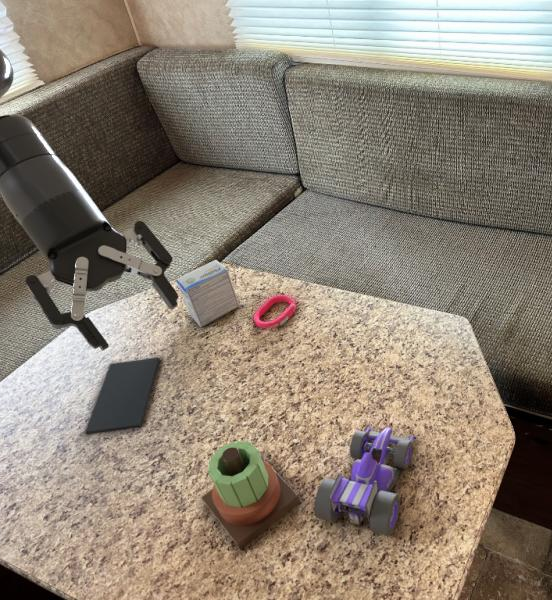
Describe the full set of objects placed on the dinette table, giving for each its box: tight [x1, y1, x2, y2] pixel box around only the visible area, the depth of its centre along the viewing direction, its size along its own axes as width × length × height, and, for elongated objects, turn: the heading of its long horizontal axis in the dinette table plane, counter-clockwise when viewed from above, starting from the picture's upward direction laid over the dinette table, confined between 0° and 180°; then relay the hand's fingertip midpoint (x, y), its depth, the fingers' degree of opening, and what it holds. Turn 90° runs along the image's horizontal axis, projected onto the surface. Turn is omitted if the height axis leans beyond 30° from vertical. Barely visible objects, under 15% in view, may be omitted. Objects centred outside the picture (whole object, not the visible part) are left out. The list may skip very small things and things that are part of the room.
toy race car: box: [313, 426, 415, 537], centre depth 77 cm, size 10×15×6 cm, turn 162°
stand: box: [200, 447, 301, 551], centre depth 75 cm, size 9×9×10 cm
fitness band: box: [253, 294, 297, 329], centre depth 106 cm, size 8×6×2 cm
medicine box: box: [175, 259, 241, 328], centre depth 106 cm, size 8×4×9 cm, turn 130°
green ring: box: [207, 440, 268, 508], centre depth 74 cm, size 6×6×5 cm
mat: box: [85, 357, 161, 435], centre depth 95 cm, size 14×8×1 cm, turn 5°
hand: (141, 326), depth 68 cm, fingers open, 8 cm apart
